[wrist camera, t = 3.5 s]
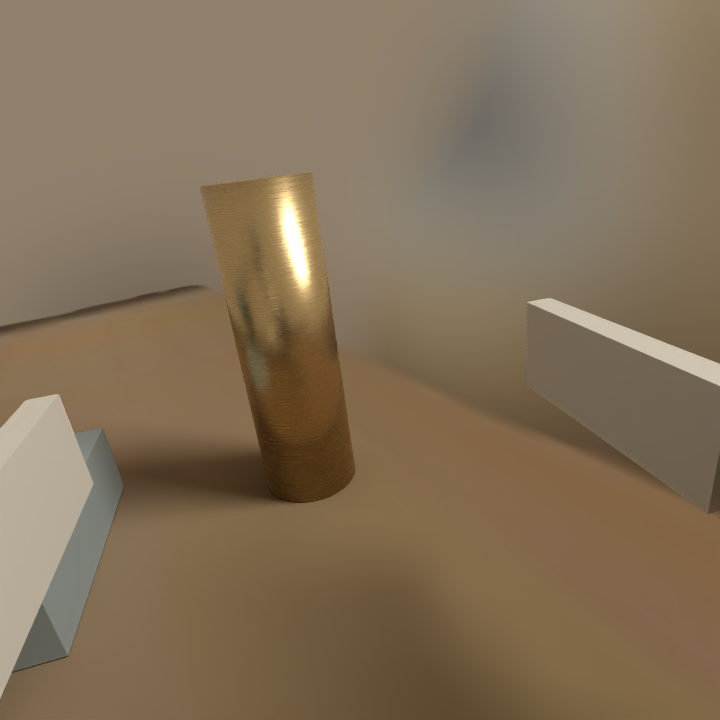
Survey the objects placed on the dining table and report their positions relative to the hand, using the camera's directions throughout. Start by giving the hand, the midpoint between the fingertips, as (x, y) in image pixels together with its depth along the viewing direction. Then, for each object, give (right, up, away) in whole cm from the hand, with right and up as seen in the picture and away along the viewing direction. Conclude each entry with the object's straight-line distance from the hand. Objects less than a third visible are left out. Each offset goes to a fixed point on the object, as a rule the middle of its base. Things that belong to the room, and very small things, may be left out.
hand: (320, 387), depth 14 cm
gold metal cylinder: (-1, -5, +11) cm, 12 cm away
